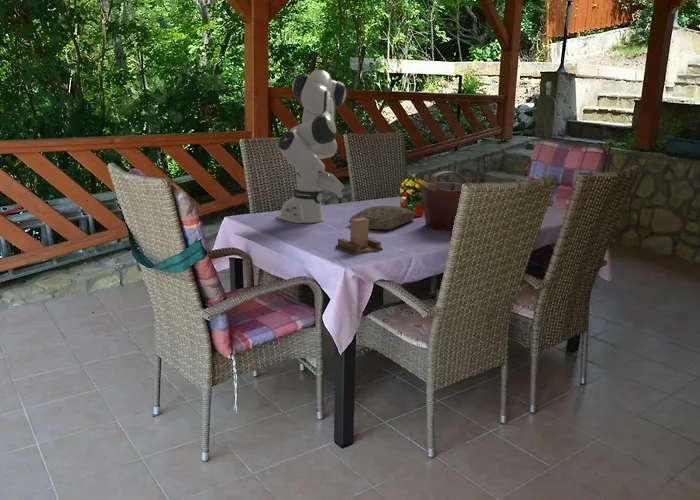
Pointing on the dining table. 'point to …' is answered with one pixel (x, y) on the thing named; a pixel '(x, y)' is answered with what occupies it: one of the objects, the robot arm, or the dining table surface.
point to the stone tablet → (385, 216)
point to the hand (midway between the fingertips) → (334, 193)
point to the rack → (358, 246)
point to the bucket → (441, 201)
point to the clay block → (359, 231)
